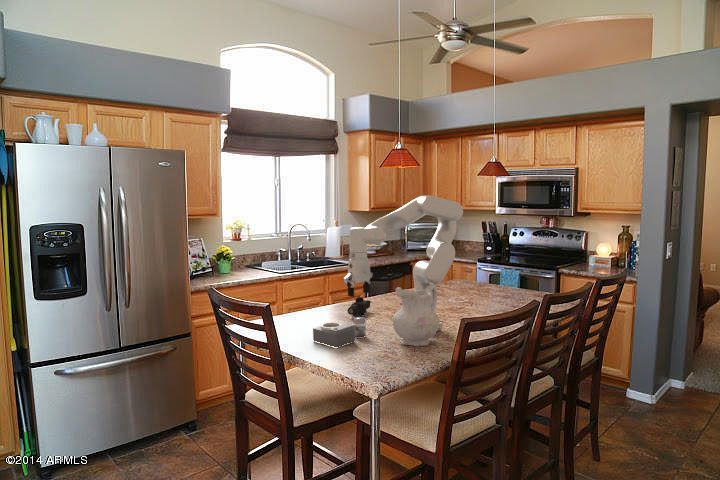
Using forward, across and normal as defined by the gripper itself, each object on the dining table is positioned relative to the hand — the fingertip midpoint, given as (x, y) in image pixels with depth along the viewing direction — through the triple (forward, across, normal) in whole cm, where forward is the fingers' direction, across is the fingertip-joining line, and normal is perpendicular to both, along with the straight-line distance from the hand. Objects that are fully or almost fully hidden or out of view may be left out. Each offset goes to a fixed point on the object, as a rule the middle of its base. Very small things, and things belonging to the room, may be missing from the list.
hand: (358, 294), depth 216 cm
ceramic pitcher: (+19, +10, -24) cm, 32 cm away
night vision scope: (+19, +27, +25) cm, 41 cm away
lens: (+19, 0, 0) cm, 19 cm away
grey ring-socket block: (+19, -13, +2) cm, 23 cm away
